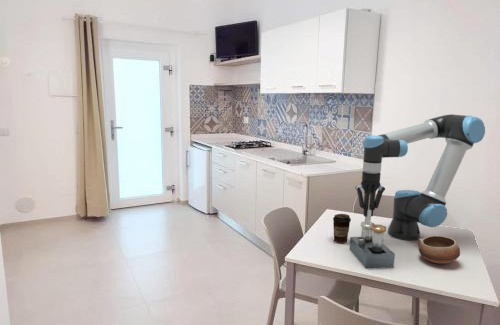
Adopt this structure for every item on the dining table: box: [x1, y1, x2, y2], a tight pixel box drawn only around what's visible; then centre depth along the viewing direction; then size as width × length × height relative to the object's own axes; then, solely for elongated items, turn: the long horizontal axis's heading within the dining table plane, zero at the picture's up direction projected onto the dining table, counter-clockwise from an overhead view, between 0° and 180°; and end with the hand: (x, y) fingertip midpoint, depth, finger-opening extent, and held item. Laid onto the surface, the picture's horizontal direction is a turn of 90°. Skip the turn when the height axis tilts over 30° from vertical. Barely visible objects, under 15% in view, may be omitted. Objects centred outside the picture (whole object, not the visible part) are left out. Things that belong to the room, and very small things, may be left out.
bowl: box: [417, 235, 461, 264], centre depth 162 cm, size 16×16×10 cm
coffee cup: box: [332, 213, 352, 244], centre depth 182 cm, size 9×8×13 cm
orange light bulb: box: [371, 224, 387, 252], centre depth 158 cm, size 6×6×10 cm
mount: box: [349, 236, 396, 269], centre depth 165 cm, size 12×19×6 cm, turn 5°
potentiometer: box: [358, 239, 365, 247], centre depth 163 cm, size 3×3×3 cm
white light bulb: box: [360, 221, 376, 243], centre depth 169 cm, size 6×6×10 cm
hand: (367, 223), depth 168 cm, fingers closed
